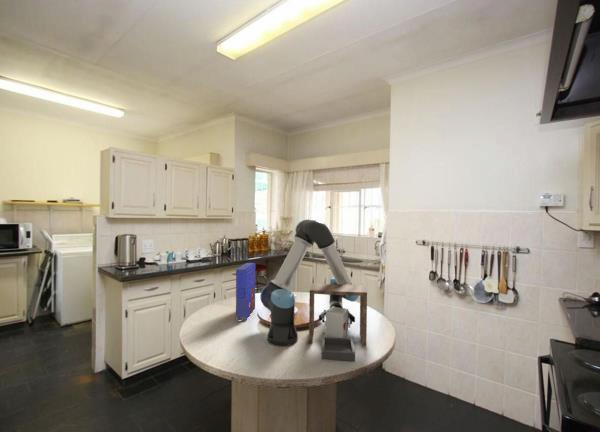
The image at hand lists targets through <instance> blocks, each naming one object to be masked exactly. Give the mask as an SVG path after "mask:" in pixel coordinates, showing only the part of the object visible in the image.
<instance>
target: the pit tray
mask: <svg viewBox="0 0 600 432" xmlns="http://www.w3.org/2000/svg"><path fill="white" fill-rule="evenodd" d="M321 345H322V346H321V360H325V361H326V360H327V361H339V362H341V361H342V362H356V351H355V346H354V340H353V338H348V339H347V338H330V337H325V336H323V337H322V344H321Z"/></svg>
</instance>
